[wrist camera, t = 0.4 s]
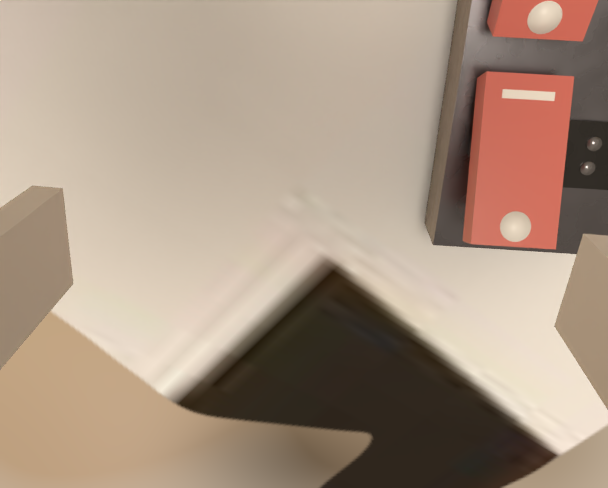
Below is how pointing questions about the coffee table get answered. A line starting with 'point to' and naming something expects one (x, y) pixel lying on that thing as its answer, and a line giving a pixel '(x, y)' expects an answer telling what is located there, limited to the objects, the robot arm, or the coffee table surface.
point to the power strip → (581, 136)
